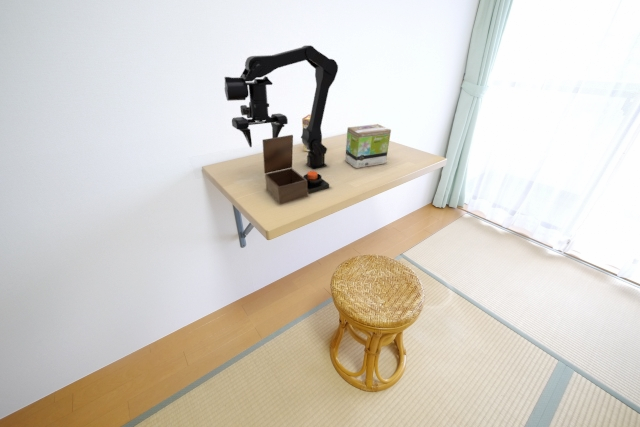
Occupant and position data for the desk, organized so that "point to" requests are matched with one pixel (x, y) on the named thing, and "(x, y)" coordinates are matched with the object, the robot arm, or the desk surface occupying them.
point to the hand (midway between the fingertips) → (262, 145)
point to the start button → (312, 175)
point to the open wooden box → (286, 185)
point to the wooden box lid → (277, 153)
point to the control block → (316, 184)
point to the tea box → (367, 145)
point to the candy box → (305, 124)
